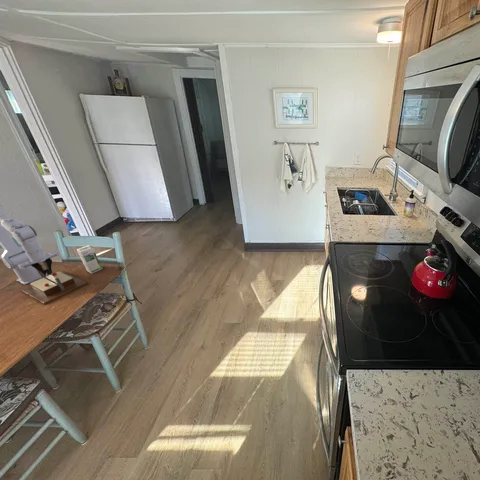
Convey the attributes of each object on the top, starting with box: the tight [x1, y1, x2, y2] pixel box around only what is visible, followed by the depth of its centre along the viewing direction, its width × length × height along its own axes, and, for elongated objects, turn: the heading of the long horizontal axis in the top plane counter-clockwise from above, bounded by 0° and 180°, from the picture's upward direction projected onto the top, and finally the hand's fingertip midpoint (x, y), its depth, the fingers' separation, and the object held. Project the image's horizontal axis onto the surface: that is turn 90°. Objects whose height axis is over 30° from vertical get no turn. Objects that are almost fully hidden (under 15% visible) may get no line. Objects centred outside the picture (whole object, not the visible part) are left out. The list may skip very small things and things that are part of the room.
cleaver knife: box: [42, 267, 57, 283], centre depth 134 cm, size 15×2×6 cm, turn 64°
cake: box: [29, 271, 75, 296], centre depth 136 cm, size 14×12×5 cm
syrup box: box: [76, 244, 103, 275], centre depth 148 cm, size 6×6×14 cm
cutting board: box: [20, 269, 89, 305], centre depth 136 cm, size 24×18×8 cm
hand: (47, 273), depth 134 cm, fingers closed on cleaver knife, 2 cm apart
